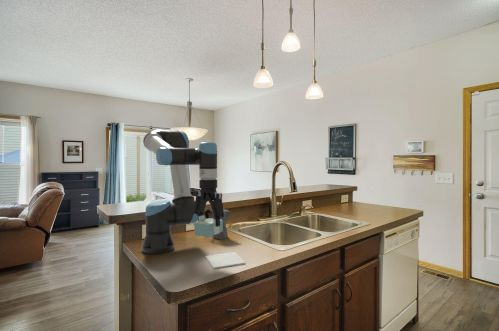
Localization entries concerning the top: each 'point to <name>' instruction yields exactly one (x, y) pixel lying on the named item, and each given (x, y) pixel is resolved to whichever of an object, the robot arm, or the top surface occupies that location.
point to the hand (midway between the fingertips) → (208, 232)
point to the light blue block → (206, 227)
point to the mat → (224, 260)
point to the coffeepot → (224, 232)
